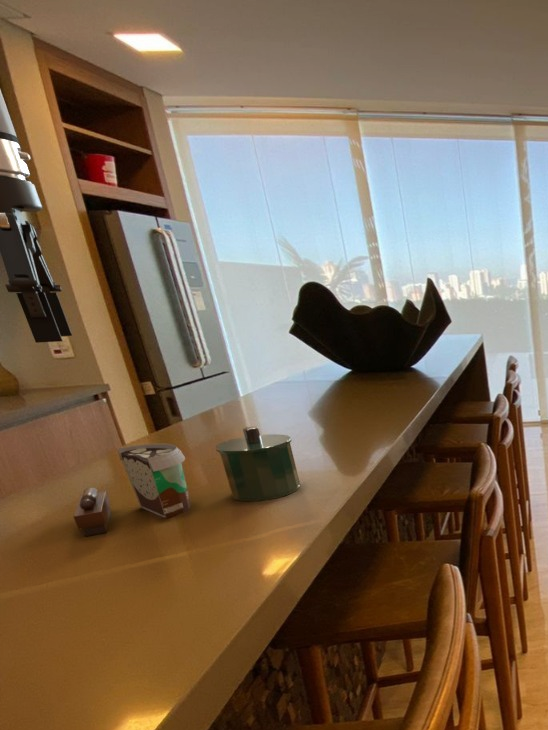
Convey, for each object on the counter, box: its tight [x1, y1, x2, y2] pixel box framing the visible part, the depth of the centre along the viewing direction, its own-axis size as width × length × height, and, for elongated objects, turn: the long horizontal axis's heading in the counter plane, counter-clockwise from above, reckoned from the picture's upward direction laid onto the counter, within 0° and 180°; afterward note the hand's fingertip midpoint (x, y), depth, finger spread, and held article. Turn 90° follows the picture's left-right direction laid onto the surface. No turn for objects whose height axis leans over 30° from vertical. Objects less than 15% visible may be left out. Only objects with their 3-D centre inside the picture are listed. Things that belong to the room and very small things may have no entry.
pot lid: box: [215, 426, 292, 454], centre depth 97 cm, size 11×11×4 cm
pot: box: [219, 442, 301, 502], centre depth 99 cm, size 10×10×8 cm
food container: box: [116, 443, 192, 519], centre depth 92 cm, size 12×6×10 cm, turn 59°
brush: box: [73, 486, 112, 537], centre depth 86 cm, size 12×3×5 cm, turn 39°
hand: (55, 339), depth 85 cm, fingers open, 13 cm apart
